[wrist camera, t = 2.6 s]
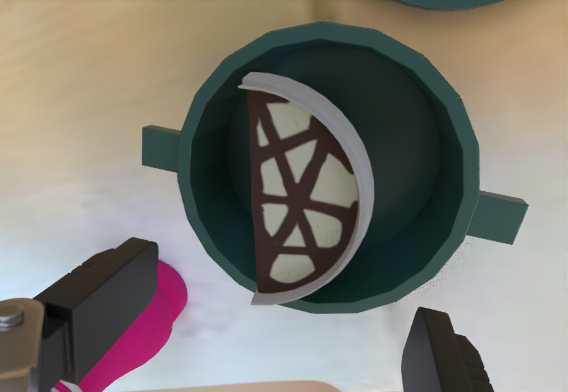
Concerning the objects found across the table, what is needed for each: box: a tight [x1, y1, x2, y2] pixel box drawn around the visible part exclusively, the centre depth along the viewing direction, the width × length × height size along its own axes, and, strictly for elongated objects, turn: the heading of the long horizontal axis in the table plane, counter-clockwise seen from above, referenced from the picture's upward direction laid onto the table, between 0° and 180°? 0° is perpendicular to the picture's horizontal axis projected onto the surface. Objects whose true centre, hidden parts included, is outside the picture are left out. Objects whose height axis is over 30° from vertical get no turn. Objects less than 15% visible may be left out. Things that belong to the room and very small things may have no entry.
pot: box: [142, 21, 529, 314], centre depth 24 cm, size 17×22×7 cm
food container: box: [238, 72, 374, 305], centre depth 22 cm, size 12×6×10 cm, turn 1°
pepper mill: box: [52, 260, 187, 392], centre depth 25 cm, size 7×7×20 cm
